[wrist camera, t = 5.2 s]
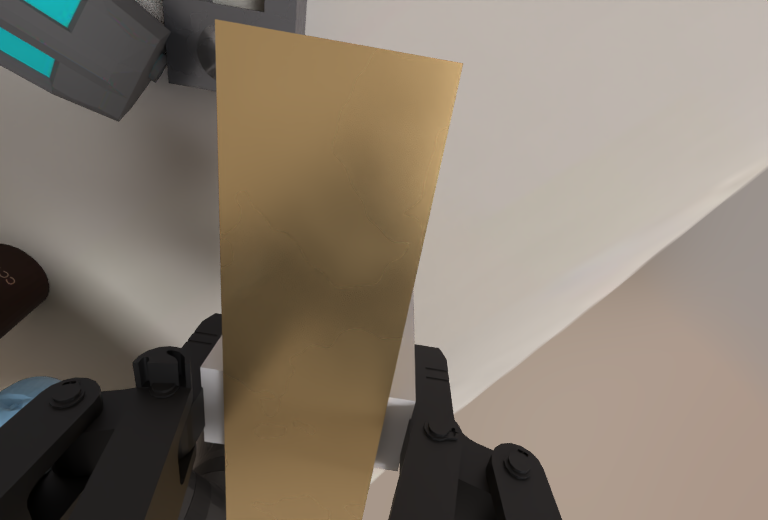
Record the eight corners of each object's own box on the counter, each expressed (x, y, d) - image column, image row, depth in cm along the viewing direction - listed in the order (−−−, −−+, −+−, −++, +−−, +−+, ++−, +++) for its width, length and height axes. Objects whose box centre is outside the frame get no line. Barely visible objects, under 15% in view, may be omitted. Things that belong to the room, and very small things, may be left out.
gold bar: (362, 433, 22) (339, 617, 15) (287, 421, 22) (228, 601, 14) (434, 60, 14) (463, 63, 7) (316, 39, 14) (214, 19, 6)
